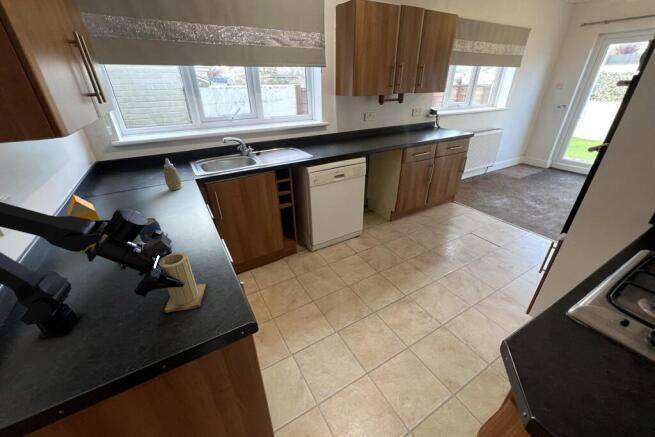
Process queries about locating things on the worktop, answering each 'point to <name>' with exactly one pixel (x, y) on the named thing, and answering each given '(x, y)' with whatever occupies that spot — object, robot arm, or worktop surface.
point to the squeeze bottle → (171, 176)
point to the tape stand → (193, 304)
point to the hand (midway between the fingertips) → (185, 276)
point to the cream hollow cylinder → (180, 277)
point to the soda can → (149, 230)
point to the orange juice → (82, 210)
